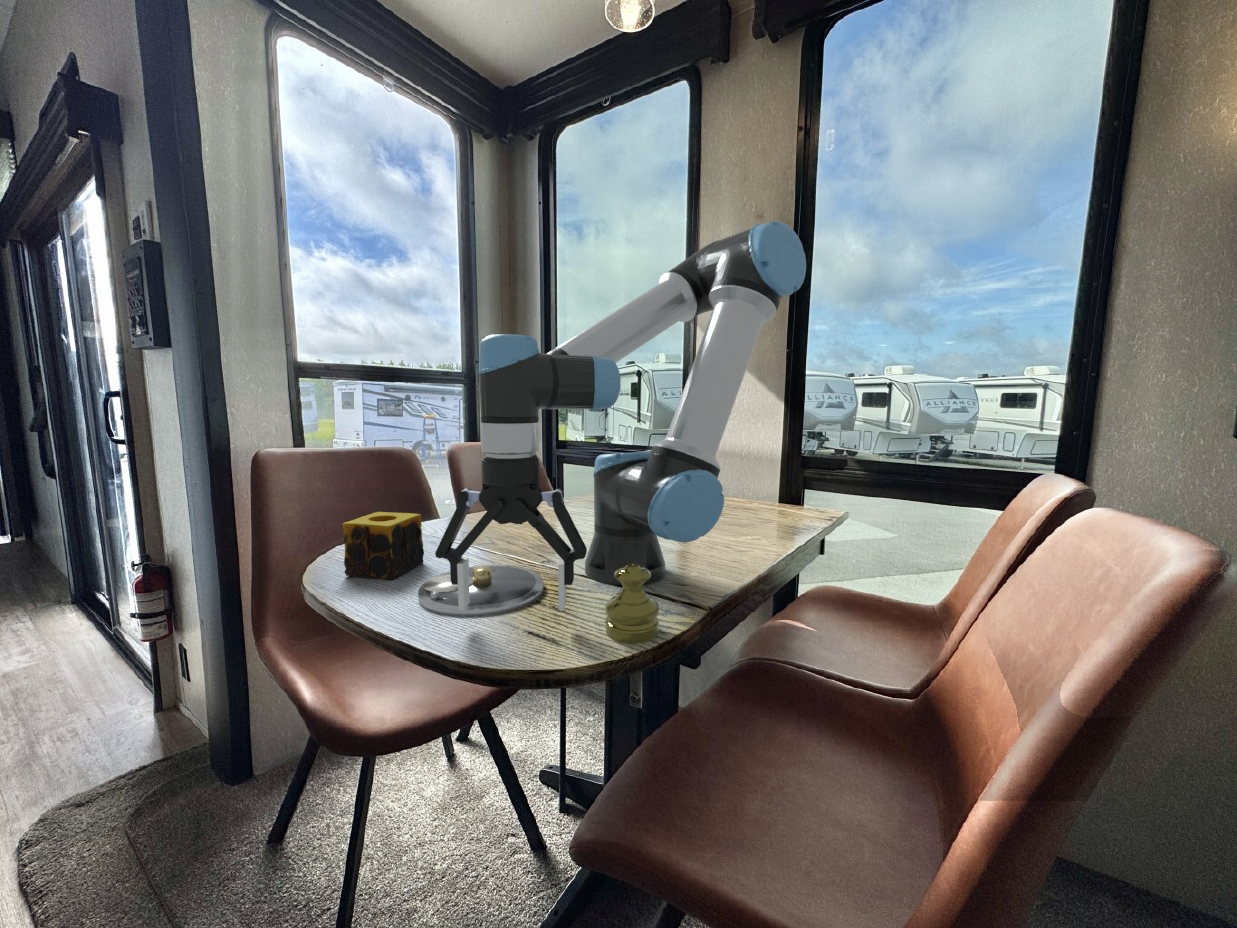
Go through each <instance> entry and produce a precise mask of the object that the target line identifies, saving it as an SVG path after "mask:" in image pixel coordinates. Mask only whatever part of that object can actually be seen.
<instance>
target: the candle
mask: <svg viewBox="0 0 1237 928" xmlns="http://www.w3.org/2000/svg"><path fill="white" fill-rule="evenodd" d="M342 528H343V534H344V535H343V537H344V538H343V539H344V540H343V543H344V561H343V564H344V565H343V566H344V568H345V570H344V573H345V576H348V577H352V578H353V577H355V578H363V579H381V580H387V581H394V580H395V579H397V578H399V577H402V576H403V575H405V574H406V573H408V572H410V571H412V570H414V569H416V568H417V567H419V566H420V565H422V564H423V563H424V556H425V555H424V554H425V551H424V541H423V531H422V514H421V513H420V514H419V513H411V512H393V511H392V512H389V511H386V512H385V511H375V512H372V513H370V514H366V515H363V516H361V517H358V518H355V519H352V520H349V521H345V522H342Z"/></svg>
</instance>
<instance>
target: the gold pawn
mask: <svg viewBox="0 0 1237 928" xmlns="http://www.w3.org/2000/svg"><path fill="white" fill-rule="evenodd" d="M614 576H615V578H616V579H617V580H619V581H620V582H621V583H622V585H621V586H622V589H620V591H618V592H617V593H616V594H615V595H614V596H612V597H611V598H609V599H608V600H607V601H606V603H605V606H604V609H605V614H606V617H605V619H604V622H605V635H606V636H607V637H608V638H610V639H611V640H613V641H615V642H619V643H623V644H624V643H625V644H641V643H643V644H644V643H647V642H651V641H652V639H653V640H655V639H656V638H655V637H656V636H657V637H658V635H659V623H660V620H659V618H658V615H659V614H660V613H659V612H660V605H659V603H658V602H657V600H656V599H655V598H653V597H651V596H650V595H649V594H648V593H647V592H646V591H645V590H644V588H643V586H644V585H643V584H644V583H645V582H646V581H647V580H649V579H650V577H651V572H650V571H649V570H648V569H646V568H644V567H642V566H639V565H638V564H635V563H630V564H627V565H626V566H623V567H621V568H619V569H617V570H616V571H615V573H614Z"/></svg>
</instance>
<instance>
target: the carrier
mask: <svg viewBox="0 0 1237 928" xmlns="http://www.w3.org/2000/svg"><path fill="white" fill-rule="evenodd" d="M469 590H470V603H469V604H468V605H467V607H466V608H465V610H459V603H458V585H456V584H452V583H451V575H450V570H449V571H445V572H443V573H440V574H437V575H435V576H433V577H431V578H429V579H428V580H426V581H424V583H422V584H421V585H420V586H419V588H418V591H417V598H418V599H417V600H418V604H420V606H421V607H423V608H424V609H425V610H428V611H430V612H433V613H436V614H440V615H445V616H456V617H478V616H487V615H488V616H489V615H490V616H491V615H497V614H501V613H507V612H510V611H514V610H518V609H520V608H523V607H526V606H528V605H530V604H532V603H534V602H535V601H537V600H538V599H540V598H541V596H542V594H543V593H544V579H543V578H542V576H541V574H539V573H538V572H536V571H534V570H533V569H532V570H531V569H529V568H525V567H521V566H516V565H507V564H486V565H485V564H483V565H475V566H469Z"/></svg>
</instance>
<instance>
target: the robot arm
mask: <svg viewBox="0 0 1237 928" xmlns="http://www.w3.org/2000/svg"><path fill="white" fill-rule="evenodd" d="M803 247H804V246H803V243H802V242H801V240H800V237H799V236H798V234H797V233H796V231H795V230H793V228H792V227H791V226H789V225H787V224H786V223H784V222H782V221H778V220H777V221H776V220H774V221H768V222H765V223H757V224H755V225H753V226H752V227H751V228H748V229H746V230H744V231H740V232H738V233H735V234H733V235H729V236H727V237H724V238H721V239H719V240H716V241H713V242H711V243H708V244H706V245H705V246H703V247H702V248H700V249H698V250H697V251H696V252H694V253H693V254H692V255H690V256H689V257H687V258H686V259H684V260H683V261H682V262H680V263H679V264H677V265H676V266H674V267H673V268H672V269H670V270H668V271H667V272H666V273H663V275H661V276H660V278H659V280H658V282H657V283H658V284H656V285H655V286H654V287H652V288H650V289H648V290H646V292H644V293H642V294H641V295H639V296H638V297H636V298H634V299H632V300H631V301H629V302H628V303H626V304H624V305H622V306H621V307H620V308H618V309H616V310H614V311H613V312H611V313H610V314H609V315H606V316H605V317H604V318H602V319H600V320H598V321H597V322H595V323H594V324H592V325H590V326H588V327H587V328H586V329H584V330H582V331H581V332H579V333H578V334H576V335H574V336H572V337H571V338H570V339H568V340H566V341H564V342H563V343H561V344H560V345H558V346H556V347H555V348H554V349H552V350H550V351H549V352H547V353H544V352H540V349H539V347H538V341H537V339H536V338H535V337H533V336H530V335H524V334H511V333H510V334H509V333H508V334H507V333H505V334H503V333H500V334H491V335H487V336H484V337H483V338H482V339H481V341H480V342H479V353H478V355H479V356H478V369H477V374H478V383H479V401H480V449H481V450H480V451H481V452H482V453H484V454H485V455H484V456H483V457H482V458H481V485H482V486H481V490H480V491H476V490H471V488H470V487H466V488H464V489H463V490H461V491H459V492H458V494H457V503H456V509H455V510H454V513H453V515H452V516H451V519H450V521H449V523H448V524H447V527H446V529H445V532H444V534H443V535H442V538H441V540H440V542H439V544H438V546H437V548H436V550H435V553H434V554H435V557H436V558H438V559H444V560H447V561H448V562H449V567H450V568H449V569H450V570H449V571H450V575H451V583H452V584H456V585H458V603H459V610H465V608H466V607H467V605H468V604H469V603H470V590H469V567H470V565H469V564H470V562H469V558H470V557H463V555H464V554H465V553H466V552H467V551H468V550H469V548H470V547H471V546H472V545H473V544H474V542H475V541H476V540H477V539H478V538H479V537H480V535H481V534H482V533H484V531H485V529H486V528H487V527H488V526H489V525H490V523H491V522H493V521H494V522H496V523H498V524H499V525H507V524H510V523H511V524H515V525H523V524H524V523H526V522H528V524H529V525H530V526H531V527H532V528H534V529H535V530H536V531H537V532H538V534H539V535H541V537H542V538H543V539H544V541H545V542H546V543H547V544H548V545H549V546H550V547H551V548H552V549H553V551H554V552H555V553H556V554H557V555H558V556H559V557H560V559H559V561H558V566H557V567H558V571H557V573H558V578H557V579H558V611H559V612H560V611H561V612H562V611H563V612H564V611H565V608H566V604H567V586H572V585H573V583H574V580H575V575H574V573H575V570H574V569H575V566H574V563H575V562H576V561H578V560H583V559H584V561H585V562H584V574H585V575H586V576H587V577H588V578H589V579H591V580H593V581H596V582H599V583H603V584H607V585H614V586H623V585H622V583H621V582H620V581H619V580H617V579H616V578H615V576H614V573H615V571H616V570H617V569H619V568H621V567H623V566H626V565H627V564H630V563H635V564H638V565H639V566H642V567H644V568H646V569H648V570H649V571H650V572H651V577H650V579H649V580H647V581H646V582H645V583H644V584H643V586H647V585H652V584H655V583H658V582H660V581H661V580H663V579H664V578H665V577H666V561H665V557H664V555H663V551H662V549H661V545H660V542H659V541H660V540H659V538H662V539H664V540H667V541H669V540H670V541H674V542H678V543H690V542H691V543H692V542H694V541H697V540H698V539H699V538H702V537H704V536H706V535H708V533H709V532H710V531H711V530H712V529H714V528H715V526H716V524H717V523H718V521H719V519H720V517H721V516H722V512H723V509H724V504H725V495H724V494H723V491H724V488H723V485H722V483H721V481H720V480H719V479H718V478H719V475H720V472H721V466H720V464H719V462H718V460H717V456H716V455H717V453H718V451H719V447H720V444H721V441H722V438H723V435H724V433H725V430H726V428H727V425H728V422H729V419H730V416H731V413H732V411H733V408H734V405H735V402H736V399H737V397H738V394H739V391H740V389H741V385H742V382H743V379H744V377H745V375H746V372H747V368H748V365H749V362H750V360H751V358H752V354H753V352H754V348H755V347H756V346H755V345H756V343H757V340H758V338H759V335H760V332H761V330H762V327H763V325H764V324H766V323H768V322H770V321H772V320H774V319H775V317H776V315H777V313H778V309H779V306H780V303H781V302H782V298H783V297H788V296H790V295H791V296H792V294H794V293H796V292H797V291H798V290H799V289H801V287H802V285H803V284H804V281H805V277H806V274H807V273H806V272H807V259H806V253H805V251H804V248H803ZM710 311H711V314H710V317H709V320H708V322H707V324H706V327H705V330H704V333H703V336H702V338H701V342H700V344H699V346H698V349H697V352H696V355H695V357H694V360H693V363H692V366H691V368H690V371H689V374H688V376H687V379H686V382H685V385H684V388H683V389H682V393H681V396H680V399H679V400H678V403H677V406H676V410H675V412H674V414H673V417H672V420H671V422H670V425H669V427H668V431H667V433H666V437H665V438H664V439H662V440H660V441H659V442H656V443H654V444H653V445H652V448H651V450H650V451H637V452H636V451H635V452H634V451H633V452H621V453H620V452H619V453H603V454H599V455H598V456H597V457H596V458H595V460H594V468H593V474H592V475H593V476H592V477H593V484H594V485H593V489H594V490H593V491H594V492H593V493H594V494H593V501H594V502H593V508H594V510H593V511H594V512H593V514H594V516H593V517H594V519H593V520H594V521H593V523H594V525H593V526H594V527H593V528H594V529H593V531H594V532H593V536H592V539H591V543H590V545H589V548H587V546H586V544H585V542H584V540H583V538H582V536H581V535H580V532H579V530H578V529H577V527H576V524H575V523H574V520H573V518H572V517H571V515H570V513H569V511H568V509H567V506H566V505H565V500H564V499H565V498H564V492H563V490H562V489H561V488H556V489H555V490H551V491H550V490H549V491H542V490H541V487H540V458H539V457H538V455H536V454H535V453H537V452H538V451H539V450H540V439H539V436H540V435H539V430H540V429H539V421H540V419H539V417H540V416H539V412H540V410H591V411H595V410H604V409H608V408H611V407H612V406H614V405H615V404H616V402H617V401H618V398H619V396H620V393H621V389H622V388H621V385H622V384H621V378H622V377H621V373H620V369H619V367H618V365H617V363H618V362H620V361H621V360H622V359H624V358H626V357H627V356H629V355H630V354H632V353H633V352H635V351H637V350H638V349H639V348H640V347H642V346H644V345H645V344H647V343H648V342H650V341H651V340H653V339H655V338H656V337H657V336H659V335H660V334H663V332H665V331H666V330H668V329H669V328H670V327H673V326H674V325H676V324H677V323H678V322H681V323H687V322H690V321H691V320H693V319H694V318H695V317H697V316H700V315H702V314H704V313H708V312H710ZM477 501H478V502H479V503H480V504H481V506H482V507H483V509H484V510H485V511H486V512H485V513H484V515H483V516H481V518H480V519H479V520H478V521H477V523H476V524H475V525H474V527H473V528H472V529H471V530H470V531H469V532H468V534H467V535H465V537H464V538H463V539H462V540H461V542H460V543H459V544H458V545H457V546H456V548H453V547H452V546H453V545H454V542H455V540H456V538H457V536H458V534H459V532H460V529H461V527H462V525H463V524H464V521H465V519H466V517H467V515H468V513H469V511H470V508H471V507H473V506H474V505H476V502H477ZM542 502H545V503H546V504H547V506H548V507H550V508H553V512H554V513H555V517H556V518H557V520H558V522H559V524H560V526H561V528H562V530H563V532H564V534H565V535H566V537H567V539H568V541H569V543H570V545H571V547H572V549H571V547H570V546H569V545H568V544H567V543H566V542H565V540H564V539H563V538H562V537H561V536H560V535H559V533H557V531H556V530H555V529H554V527H553V526H552V525H551V524H550V523H549V522H548V521H547V520H546V518H545V517H544V515H543V514H542V512H540V511H539V509H538V508H539V506H540V505H541V504H542ZM658 537H659V538H658ZM587 549H588V551H587Z"/></svg>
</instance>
